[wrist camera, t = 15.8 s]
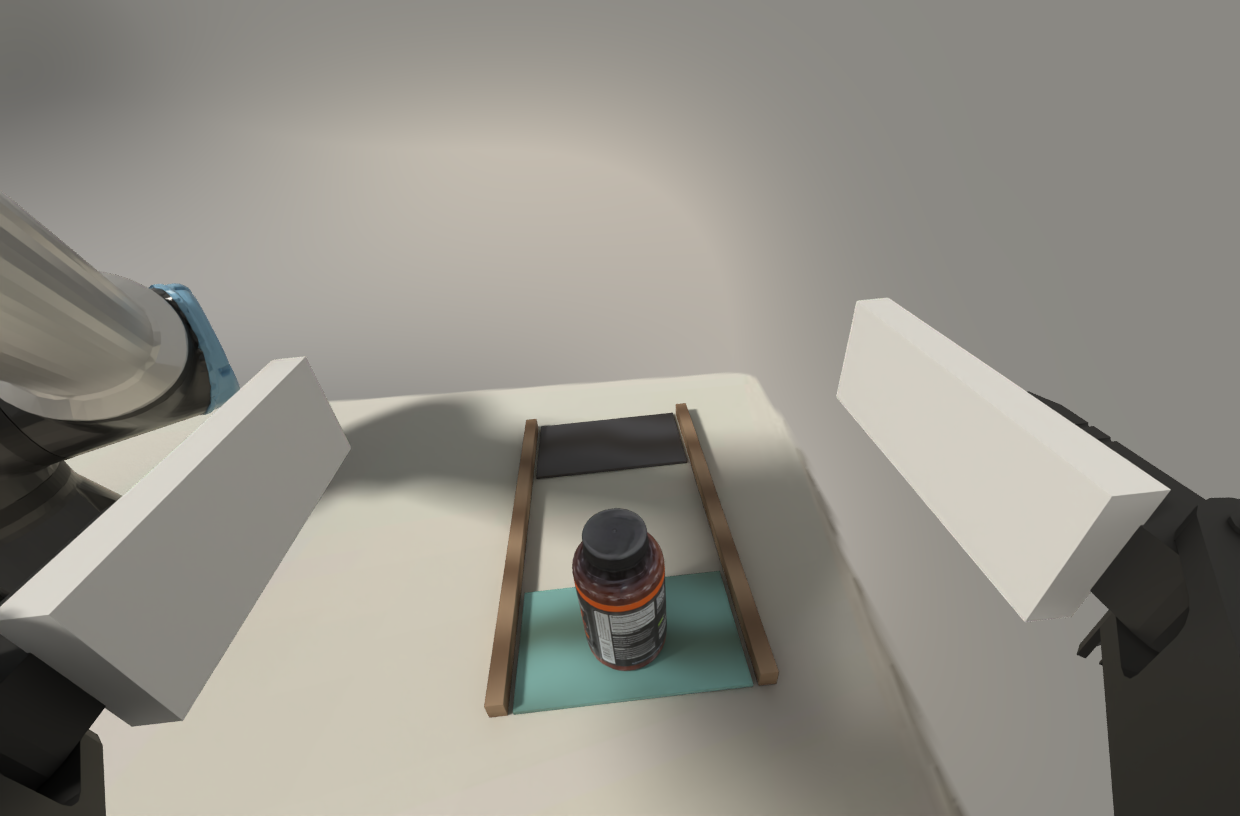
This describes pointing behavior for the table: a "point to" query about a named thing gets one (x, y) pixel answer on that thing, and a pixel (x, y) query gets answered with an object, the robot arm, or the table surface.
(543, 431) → the channel track
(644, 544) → the supplement bottle
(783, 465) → the table surface
